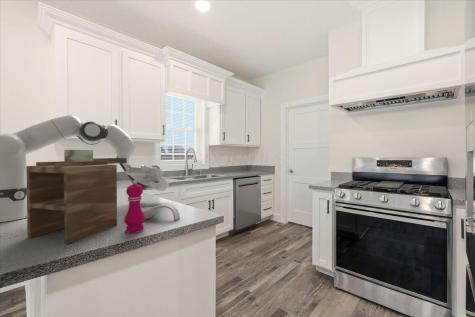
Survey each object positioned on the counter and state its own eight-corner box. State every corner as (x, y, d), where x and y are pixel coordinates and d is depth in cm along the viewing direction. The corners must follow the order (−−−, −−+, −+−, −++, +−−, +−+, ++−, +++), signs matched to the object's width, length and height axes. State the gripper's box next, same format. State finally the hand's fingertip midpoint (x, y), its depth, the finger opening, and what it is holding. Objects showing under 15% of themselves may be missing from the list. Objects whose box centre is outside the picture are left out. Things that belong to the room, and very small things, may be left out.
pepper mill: (125, 234, 81) (125, 182, 81) (124, 229, 88) (123, 180, 87) (146, 231, 85) (145, 180, 85) (143, 225, 91) (143, 178, 91)
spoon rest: (124, 220, 99) (124, 205, 99) (139, 213, 111) (139, 199, 111) (172, 223, 95) (172, 207, 95) (183, 216, 107) (183, 201, 107)
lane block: (64, 165, 83) (64, 149, 83) (119, 162, 109) (119, 150, 108) (76, 165, 81) (75, 149, 81) (129, 162, 107) (129, 150, 107)
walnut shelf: (27, 237, 78) (26, 161, 77) (81, 221, 97) (80, 160, 97) (68, 244, 72) (67, 162, 72) (117, 225, 91) (116, 161, 91)
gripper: (137, 171, 130) (121, 160, 118) (166, 172, 124) (152, 161, 113) (133, 181, 127) (116, 171, 116) (163, 182, 121) (148, 172, 110)
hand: (134, 166), depth 114 cm, fingers open, 8 cm apart
